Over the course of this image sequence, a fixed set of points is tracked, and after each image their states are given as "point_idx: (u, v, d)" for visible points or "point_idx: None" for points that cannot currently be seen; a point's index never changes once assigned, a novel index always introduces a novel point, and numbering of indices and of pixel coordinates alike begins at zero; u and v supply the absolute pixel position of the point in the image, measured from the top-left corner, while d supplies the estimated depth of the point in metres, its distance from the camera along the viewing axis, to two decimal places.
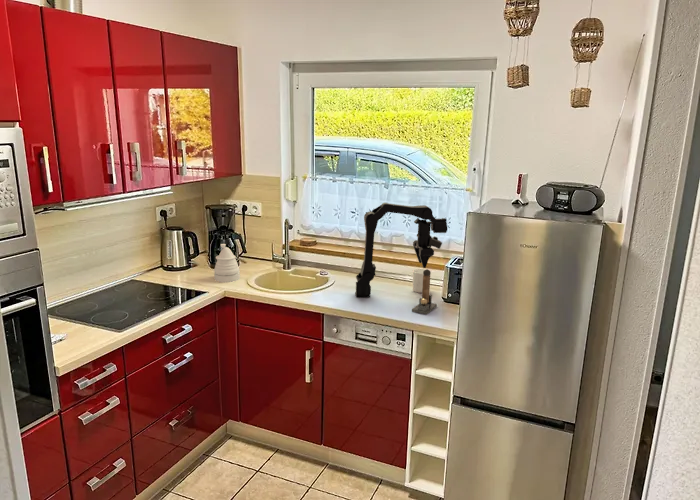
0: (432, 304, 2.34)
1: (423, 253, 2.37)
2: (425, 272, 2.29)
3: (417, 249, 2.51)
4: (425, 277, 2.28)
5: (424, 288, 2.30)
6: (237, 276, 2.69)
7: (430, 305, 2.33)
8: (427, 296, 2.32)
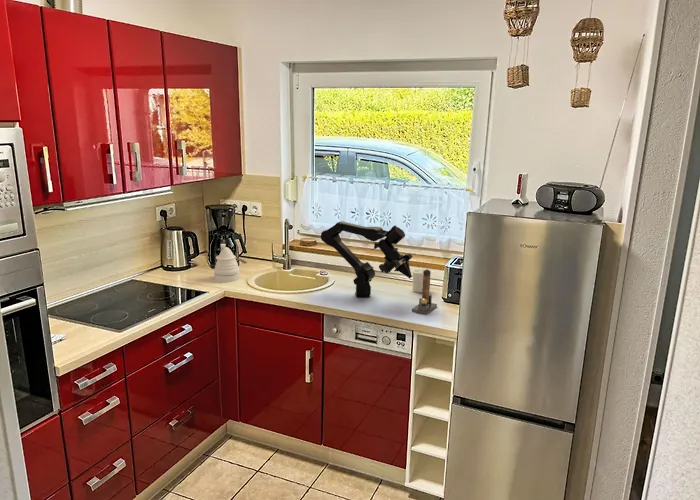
0: (432, 304, 2.34)
1: None
2: (425, 272, 2.29)
3: None
4: (425, 277, 2.28)
5: (424, 288, 2.30)
6: (237, 276, 2.69)
7: (430, 305, 2.33)
8: (427, 296, 2.32)
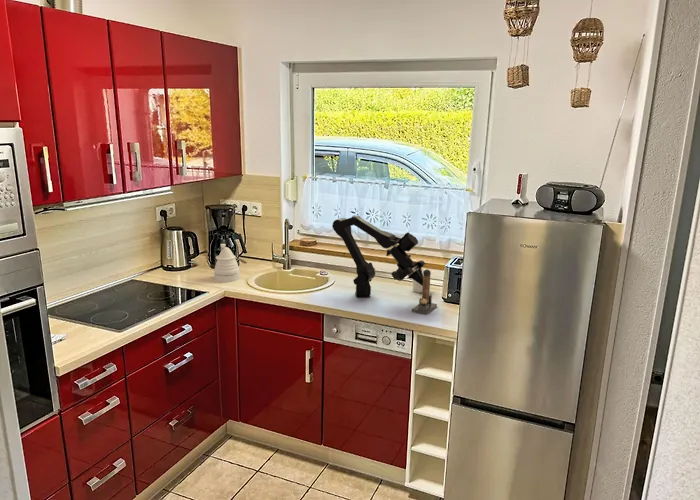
0: (432, 304, 2.34)
1: None
2: (425, 272, 2.29)
3: None
4: (425, 277, 2.28)
5: (424, 288, 2.30)
6: (237, 276, 2.69)
7: (430, 305, 2.33)
8: (427, 296, 2.32)
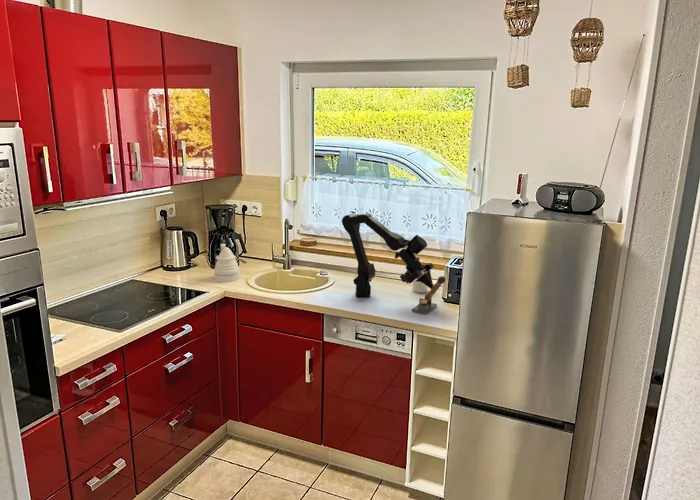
0: (432, 304, 2.34)
1: None
2: (441, 279, 2.26)
3: None
4: (438, 283, 2.26)
5: (431, 291, 2.28)
6: (237, 276, 2.69)
7: (430, 305, 2.33)
8: (429, 298, 2.31)
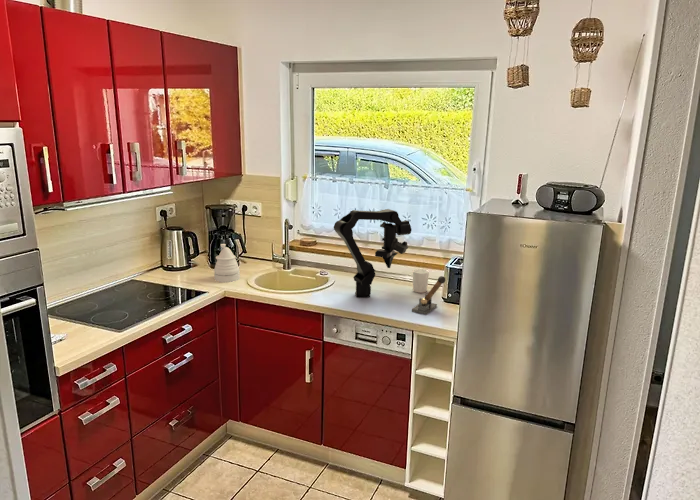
0: (432, 304, 2.34)
1: (376, 255, 2.43)
2: (441, 279, 2.26)
3: None
4: (438, 283, 2.26)
5: (431, 291, 2.28)
6: (237, 276, 2.69)
7: (430, 305, 2.33)
8: (429, 298, 2.31)
